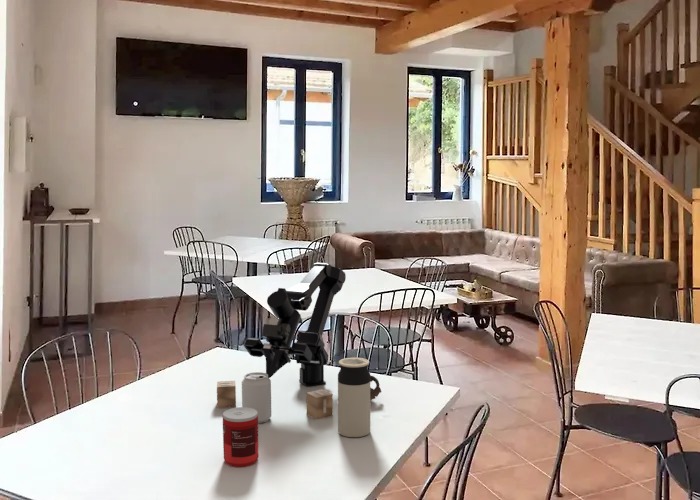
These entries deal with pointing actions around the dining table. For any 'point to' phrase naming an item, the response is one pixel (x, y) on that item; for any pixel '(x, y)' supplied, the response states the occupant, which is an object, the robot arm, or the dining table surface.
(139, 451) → the dining table surface
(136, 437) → the dining table surface
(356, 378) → the travel mug
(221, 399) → the marked block 1
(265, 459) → the dining table surface
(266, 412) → the can
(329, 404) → the marked block 2
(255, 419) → the canned food
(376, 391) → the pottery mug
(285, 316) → the robot arm
